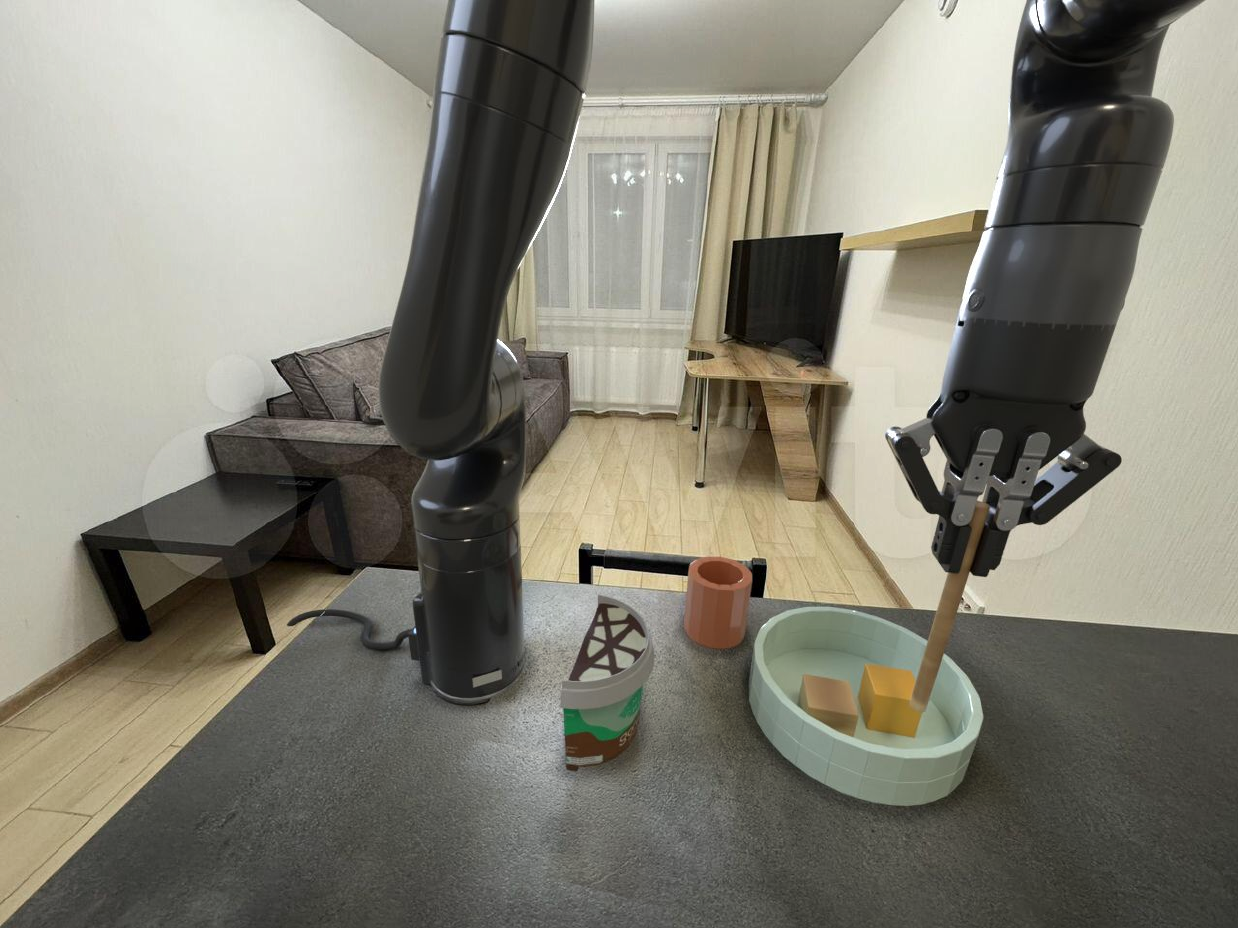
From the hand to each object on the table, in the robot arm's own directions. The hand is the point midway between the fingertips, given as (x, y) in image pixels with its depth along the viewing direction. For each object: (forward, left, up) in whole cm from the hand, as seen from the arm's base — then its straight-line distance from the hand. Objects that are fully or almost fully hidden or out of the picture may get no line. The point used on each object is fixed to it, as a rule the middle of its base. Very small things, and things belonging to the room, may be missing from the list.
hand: (960, 568), depth 37 cm
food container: (-24, -2, -20) cm, 31 cm away
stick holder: (-16, +14, -20) cm, 29 cm away
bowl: (-3, +5, -20) cm, 20 cm away
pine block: (-6, +2, -19) cm, 20 cm away
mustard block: (0, +5, -19) cm, 20 cm away
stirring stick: (0, 0, -13) cm, 13 cm away
